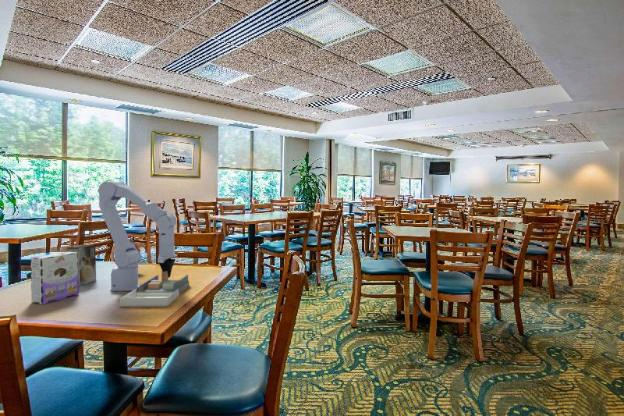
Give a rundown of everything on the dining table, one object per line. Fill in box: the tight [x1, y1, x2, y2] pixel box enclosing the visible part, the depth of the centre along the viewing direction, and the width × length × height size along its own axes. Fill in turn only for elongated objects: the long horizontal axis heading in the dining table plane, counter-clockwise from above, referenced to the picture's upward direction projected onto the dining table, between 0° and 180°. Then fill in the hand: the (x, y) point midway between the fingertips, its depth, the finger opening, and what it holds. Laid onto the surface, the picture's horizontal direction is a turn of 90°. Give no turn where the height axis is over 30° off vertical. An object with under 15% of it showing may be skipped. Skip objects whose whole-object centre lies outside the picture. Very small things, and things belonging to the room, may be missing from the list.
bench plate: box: [138, 274, 190, 295], centre depth 150 cm, size 14×17×4 cm
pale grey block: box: [150, 270, 180, 285], centre depth 150 cm, size 11×2×5 cm, turn 92°
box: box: [119, 289, 180, 308], centre depth 136 cm, size 16×12×3 cm
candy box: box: [30, 251, 80, 305], centre depth 138 cm, size 14×6×16 cm, turn 157°
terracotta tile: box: [148, 282, 162, 289], centre depth 147 cm, size 4×4×2 cm
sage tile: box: [163, 282, 176, 289], centre depth 147 cm, size 4×4×2 cm
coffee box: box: [66, 244, 97, 286], centre depth 162 cm, size 9×6×16 cm
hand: (167, 277), depth 152 cm, fingers closed
